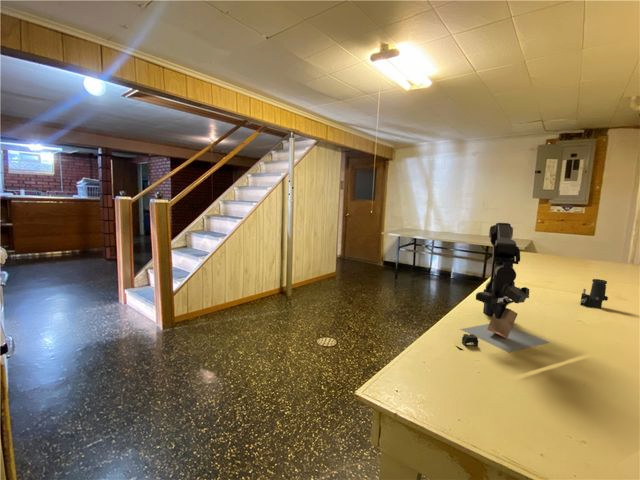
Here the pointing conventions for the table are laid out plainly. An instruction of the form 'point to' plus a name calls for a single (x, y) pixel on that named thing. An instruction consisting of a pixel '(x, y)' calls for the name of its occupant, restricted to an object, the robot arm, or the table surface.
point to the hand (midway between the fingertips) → (497, 318)
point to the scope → (595, 294)
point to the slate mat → (511, 344)
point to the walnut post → (503, 323)
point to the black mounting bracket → (469, 340)
